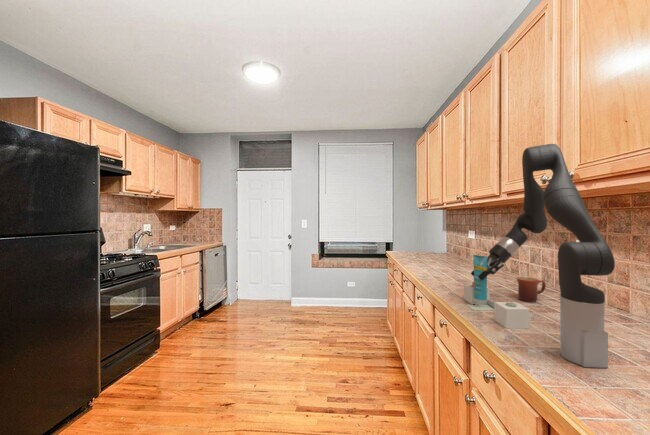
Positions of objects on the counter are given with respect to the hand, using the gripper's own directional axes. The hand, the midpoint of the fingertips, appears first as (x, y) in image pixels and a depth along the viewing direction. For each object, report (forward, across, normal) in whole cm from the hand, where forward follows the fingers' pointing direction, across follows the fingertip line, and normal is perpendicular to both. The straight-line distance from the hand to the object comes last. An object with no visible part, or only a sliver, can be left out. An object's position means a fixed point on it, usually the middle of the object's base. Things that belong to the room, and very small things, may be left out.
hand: (476, 276), depth 123 cm
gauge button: (+3, -8, +9) cm, 13 cm away
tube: (+6, 0, +8) cm, 10 cm away
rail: (+4, +5, +15) cm, 17 cm away
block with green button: (+7, +18, +12) cm, 23 cm away
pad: (+9, 0, +11) cm, 14 cm away
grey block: (+7, -8, +13) cm, 17 cm away
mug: (-12, -11, +32) cm, 35 cm away
